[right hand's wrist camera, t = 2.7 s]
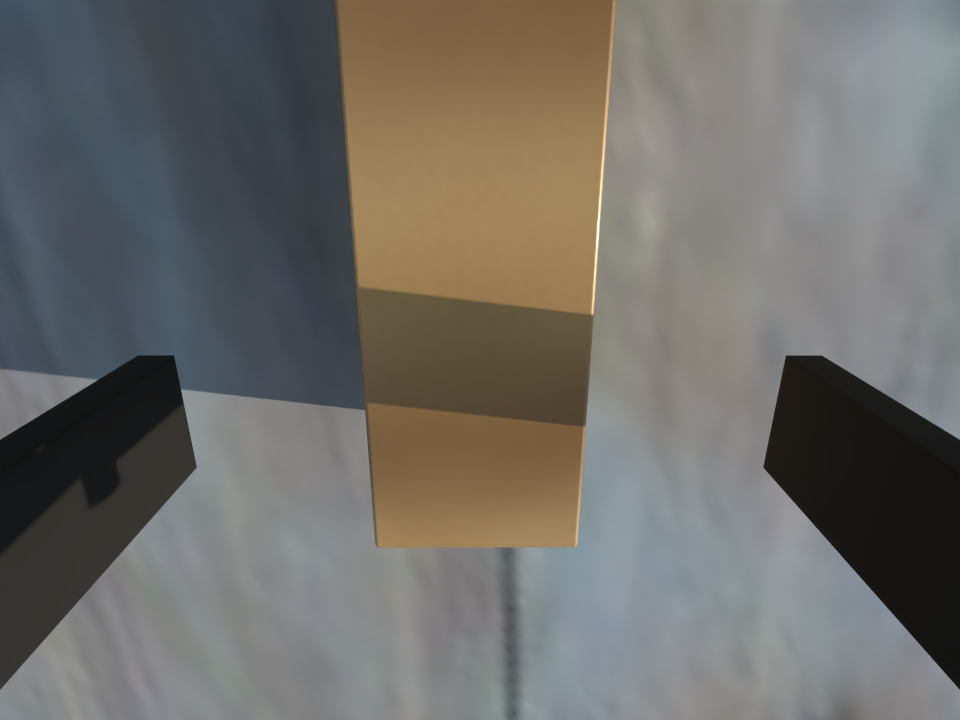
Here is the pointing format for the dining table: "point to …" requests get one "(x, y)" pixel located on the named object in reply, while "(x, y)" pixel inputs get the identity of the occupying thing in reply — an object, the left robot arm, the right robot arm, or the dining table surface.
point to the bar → (475, 258)
